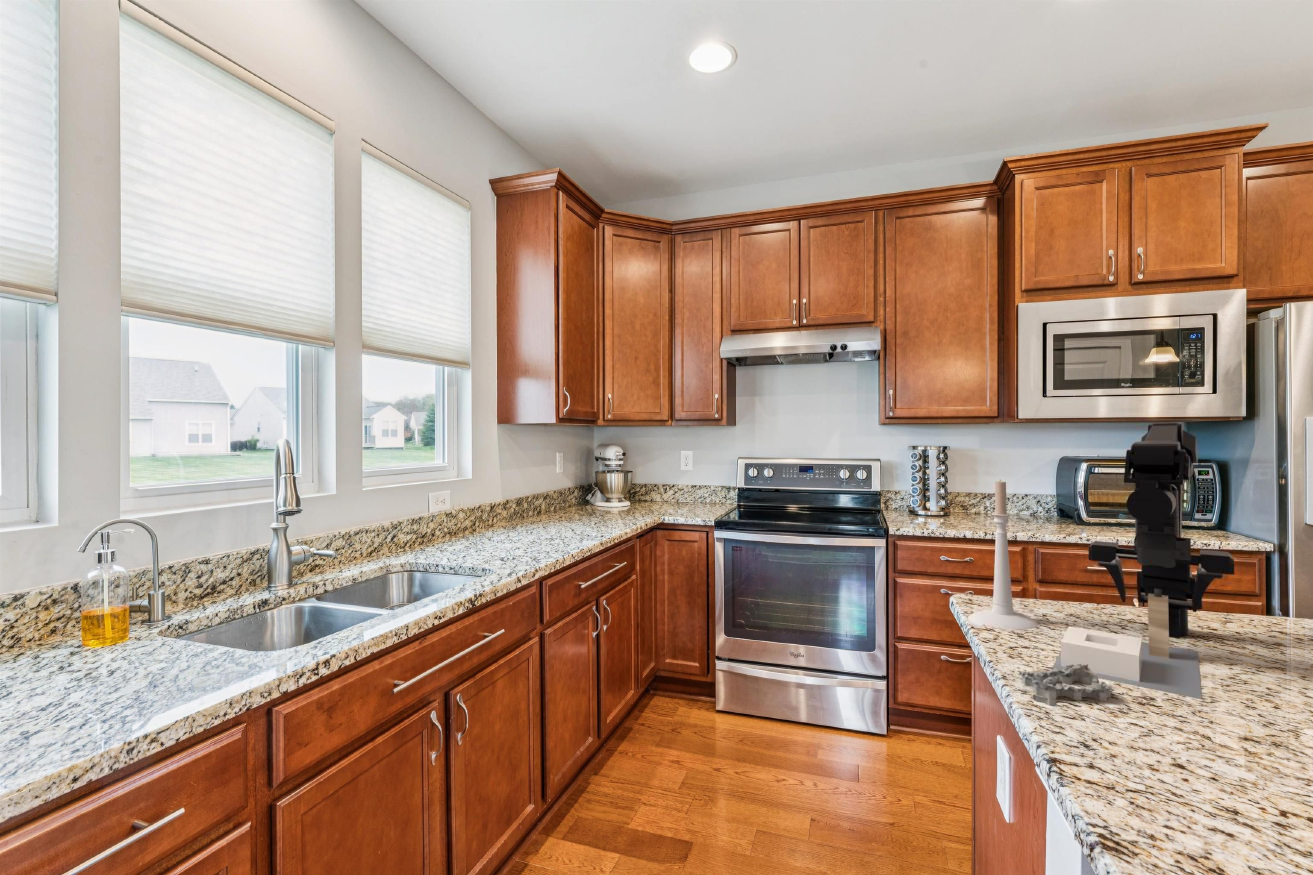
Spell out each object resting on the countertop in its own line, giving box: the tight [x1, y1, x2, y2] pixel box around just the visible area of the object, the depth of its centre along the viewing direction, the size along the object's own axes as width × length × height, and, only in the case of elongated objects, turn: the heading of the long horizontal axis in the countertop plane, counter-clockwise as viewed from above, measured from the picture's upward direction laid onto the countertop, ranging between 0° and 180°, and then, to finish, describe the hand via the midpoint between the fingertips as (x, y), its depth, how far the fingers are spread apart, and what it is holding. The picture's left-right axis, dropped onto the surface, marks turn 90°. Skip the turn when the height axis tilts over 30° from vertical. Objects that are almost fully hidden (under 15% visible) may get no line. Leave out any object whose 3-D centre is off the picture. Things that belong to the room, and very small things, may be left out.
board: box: [1051, 641, 1203, 700], centre depth 99 cm, size 24×18×1 cm
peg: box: [1147, 589, 1170, 658], centre depth 101 cm, size 3×3×11 cm
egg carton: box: [1017, 664, 1115, 708], centre depth 88 cm, size 11×8×4 cm
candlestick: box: [967, 480, 1039, 631], centre depth 121 cm, size 13×13×30 cm
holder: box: [1060, 626, 1143, 682], centre depth 97 cm, size 10×10×4 cm
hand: (1158, 606), depth 101 cm, fingers open, 9 cm apart
